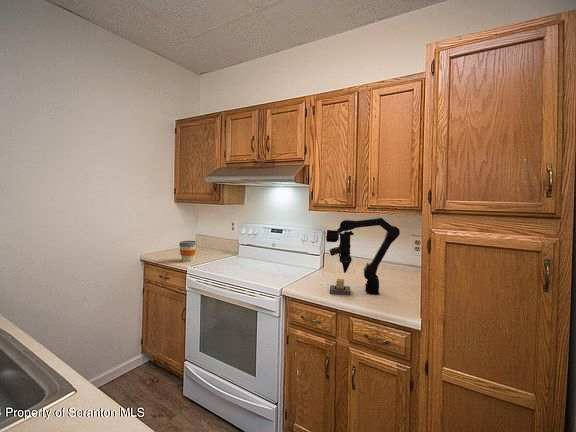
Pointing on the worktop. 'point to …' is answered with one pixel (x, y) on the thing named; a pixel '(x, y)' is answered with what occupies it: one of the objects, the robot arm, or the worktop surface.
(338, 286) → the brass block
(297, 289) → the worktop surface
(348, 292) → the steel rail
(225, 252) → the worktop surface
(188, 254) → the reusable coffee cup
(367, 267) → the robot arm
